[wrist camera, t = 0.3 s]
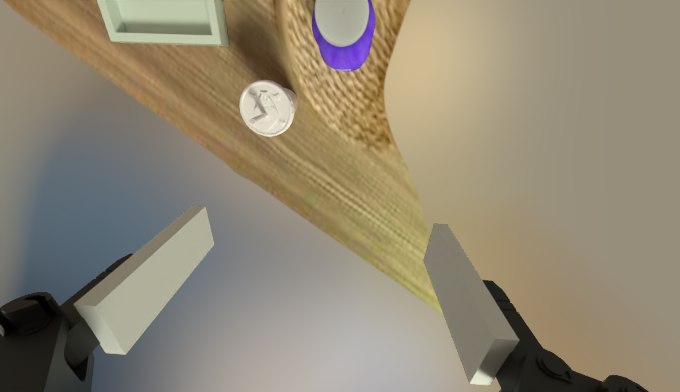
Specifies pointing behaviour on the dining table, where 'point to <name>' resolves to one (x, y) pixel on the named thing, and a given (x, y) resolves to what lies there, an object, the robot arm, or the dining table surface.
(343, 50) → the bottle
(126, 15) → the tray
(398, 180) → the dining table surface
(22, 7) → the dining table surface
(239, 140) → the dining table surface
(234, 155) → the dining table surface
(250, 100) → the smoothie
